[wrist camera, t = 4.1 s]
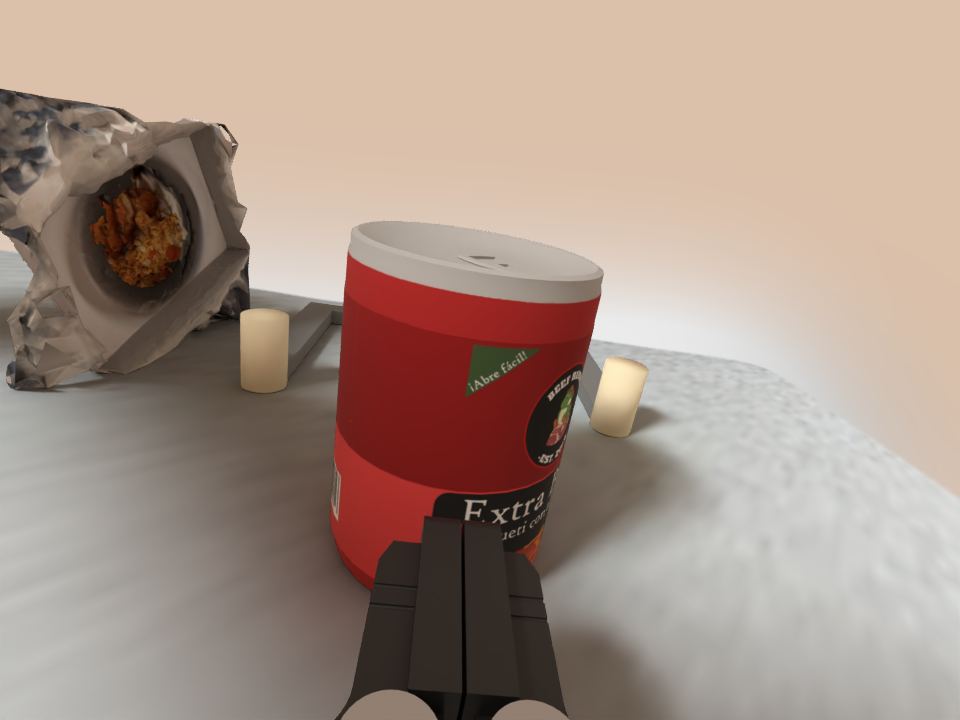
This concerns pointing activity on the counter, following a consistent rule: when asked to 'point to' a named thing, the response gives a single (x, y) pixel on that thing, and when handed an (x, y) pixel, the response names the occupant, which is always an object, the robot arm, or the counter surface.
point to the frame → (283, 345)
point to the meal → (115, 234)
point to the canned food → (454, 383)
